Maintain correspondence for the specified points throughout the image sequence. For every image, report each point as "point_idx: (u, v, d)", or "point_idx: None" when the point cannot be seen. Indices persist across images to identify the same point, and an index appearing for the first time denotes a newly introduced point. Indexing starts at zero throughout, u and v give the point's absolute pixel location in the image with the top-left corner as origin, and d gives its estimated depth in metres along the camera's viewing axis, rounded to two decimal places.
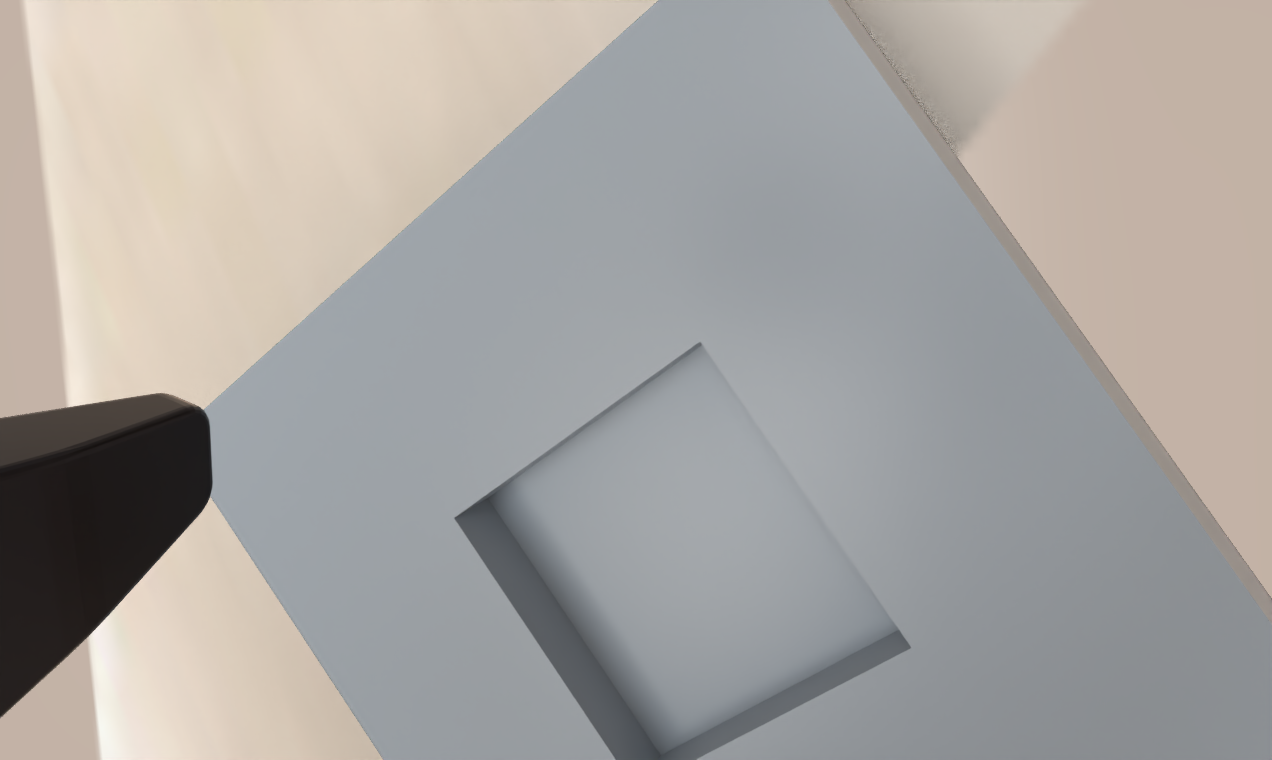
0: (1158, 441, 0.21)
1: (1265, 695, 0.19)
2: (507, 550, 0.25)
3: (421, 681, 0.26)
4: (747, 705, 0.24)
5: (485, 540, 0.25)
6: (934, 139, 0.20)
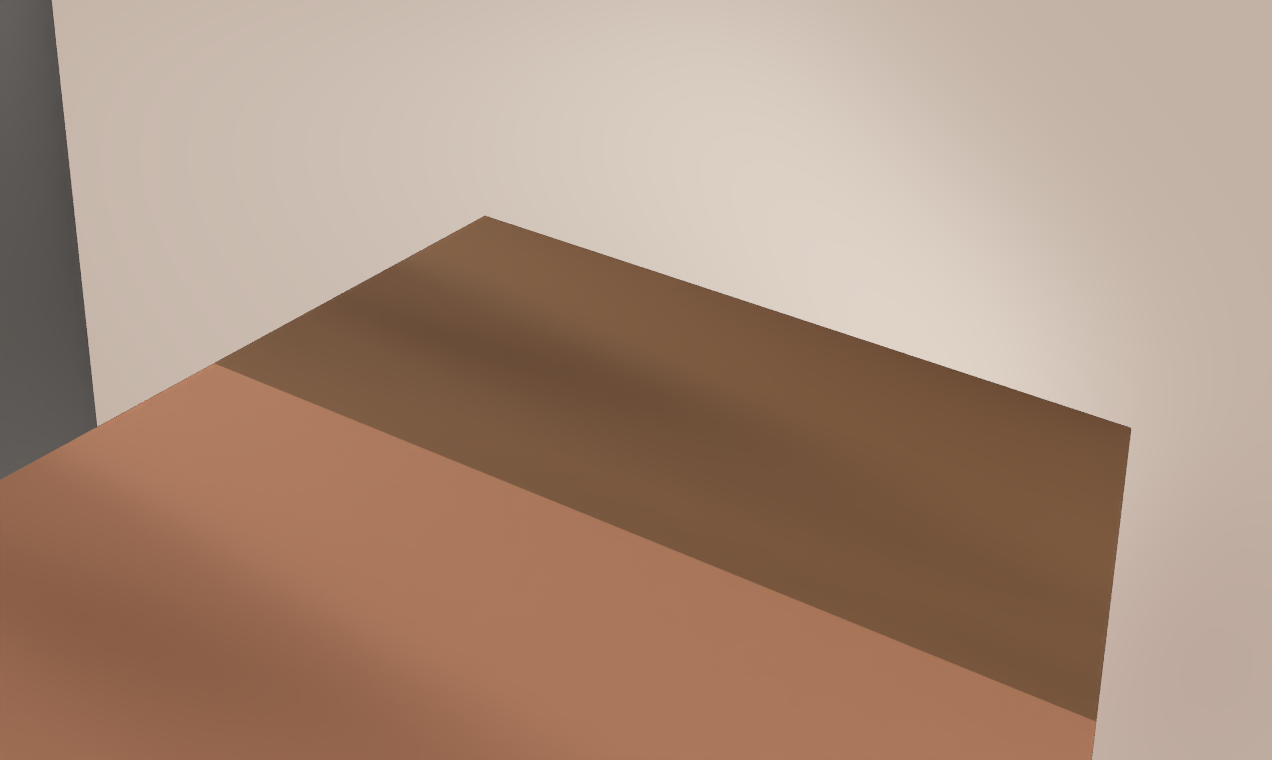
0: None
1: None
2: None
3: None
4: None
5: None
6: None
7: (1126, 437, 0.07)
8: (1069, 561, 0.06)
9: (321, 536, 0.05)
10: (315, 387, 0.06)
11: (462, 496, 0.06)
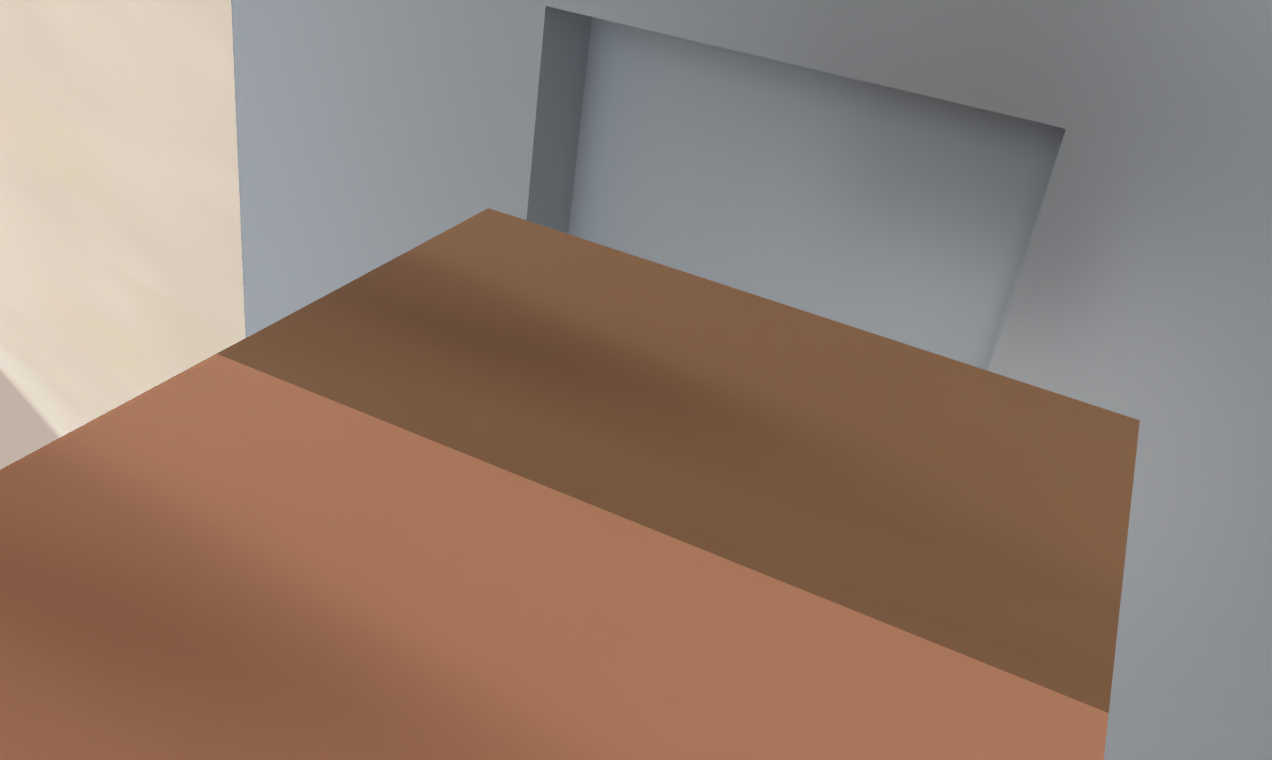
0: None
1: None
2: None
3: None
4: None
5: None
6: None
7: (1134, 429, 0.07)
8: (1081, 553, 0.06)
9: (325, 526, 0.05)
10: (319, 377, 0.06)
11: (467, 486, 0.06)
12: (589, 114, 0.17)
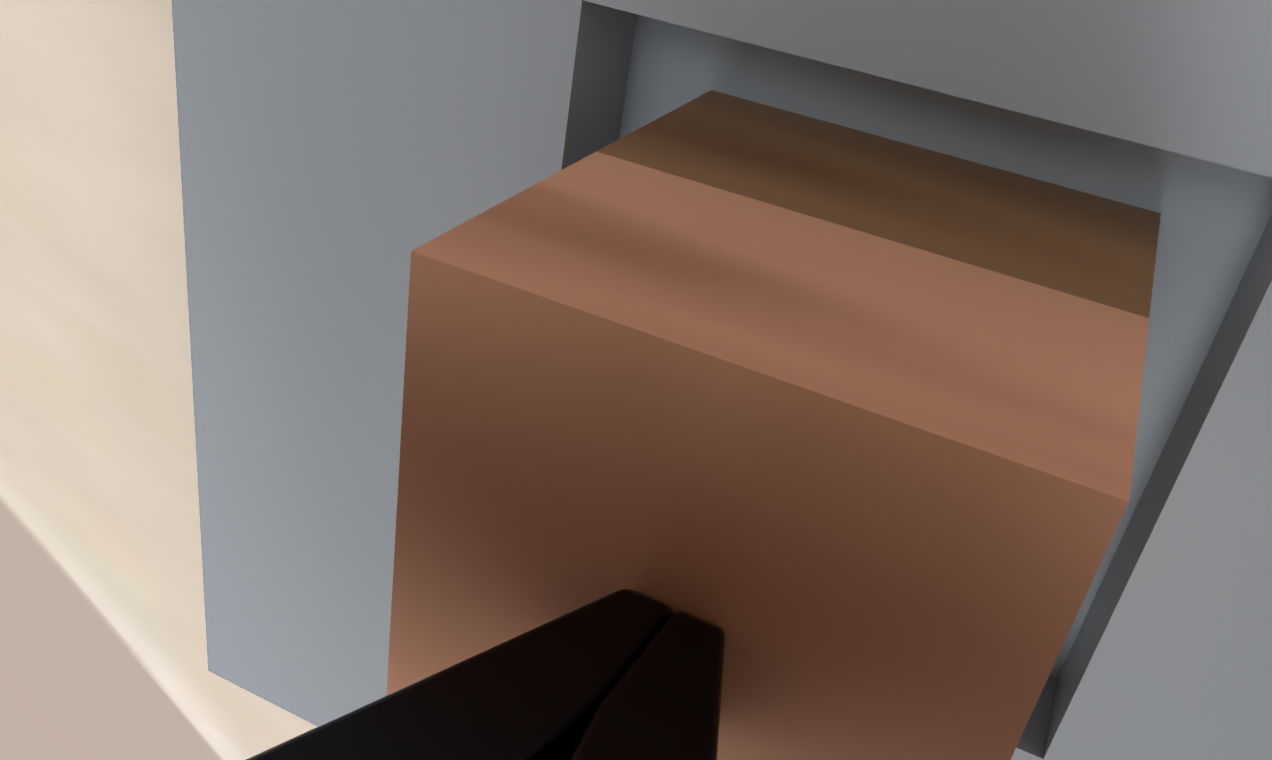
0: None
1: None
2: None
3: None
4: (1125, 514, 0.13)
5: None
6: None
7: (1158, 217, 0.11)
8: (1127, 263, 0.10)
9: (704, 224, 0.09)
10: (660, 165, 0.10)
11: (771, 214, 0.10)
12: None
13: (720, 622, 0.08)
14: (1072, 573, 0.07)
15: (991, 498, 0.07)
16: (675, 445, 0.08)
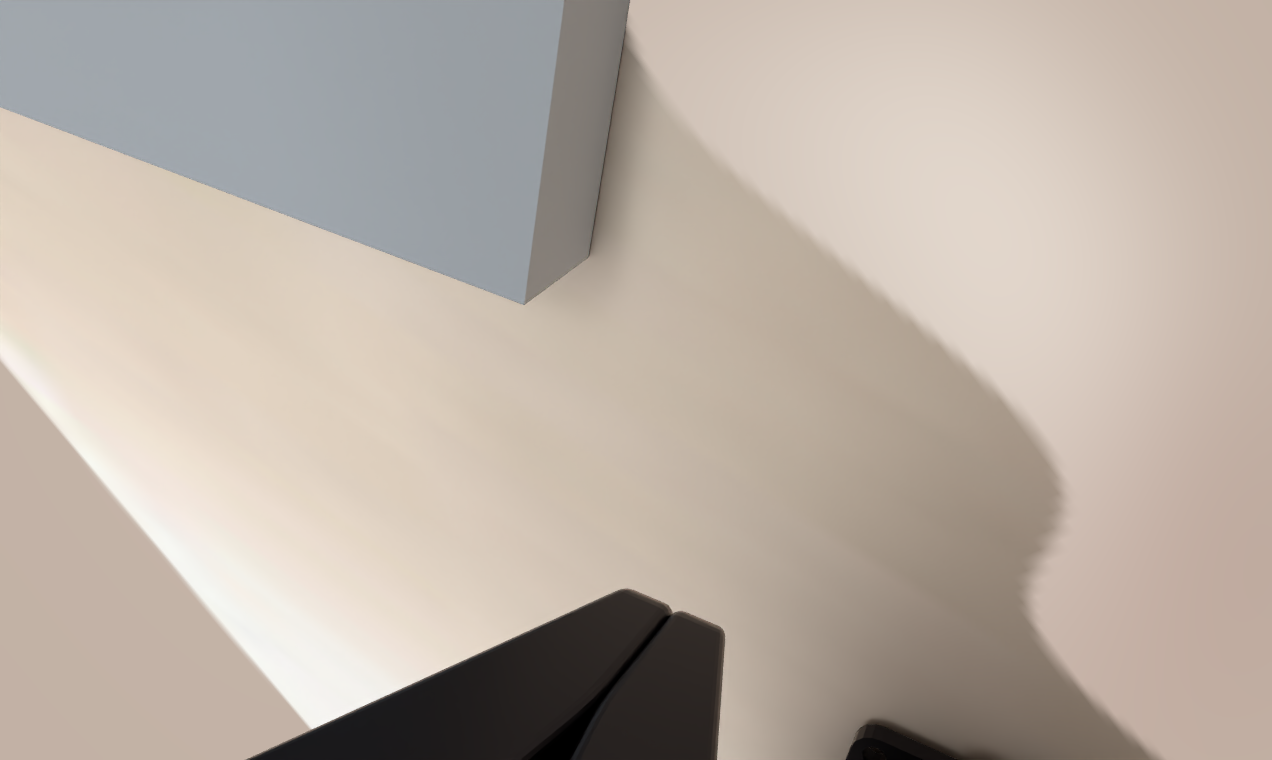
0: None
1: None
2: None
3: (76, 25, 0.21)
4: None
5: None
6: None
7: None
8: None
9: None
10: None
11: None
12: None
13: None
14: None
15: None
16: None
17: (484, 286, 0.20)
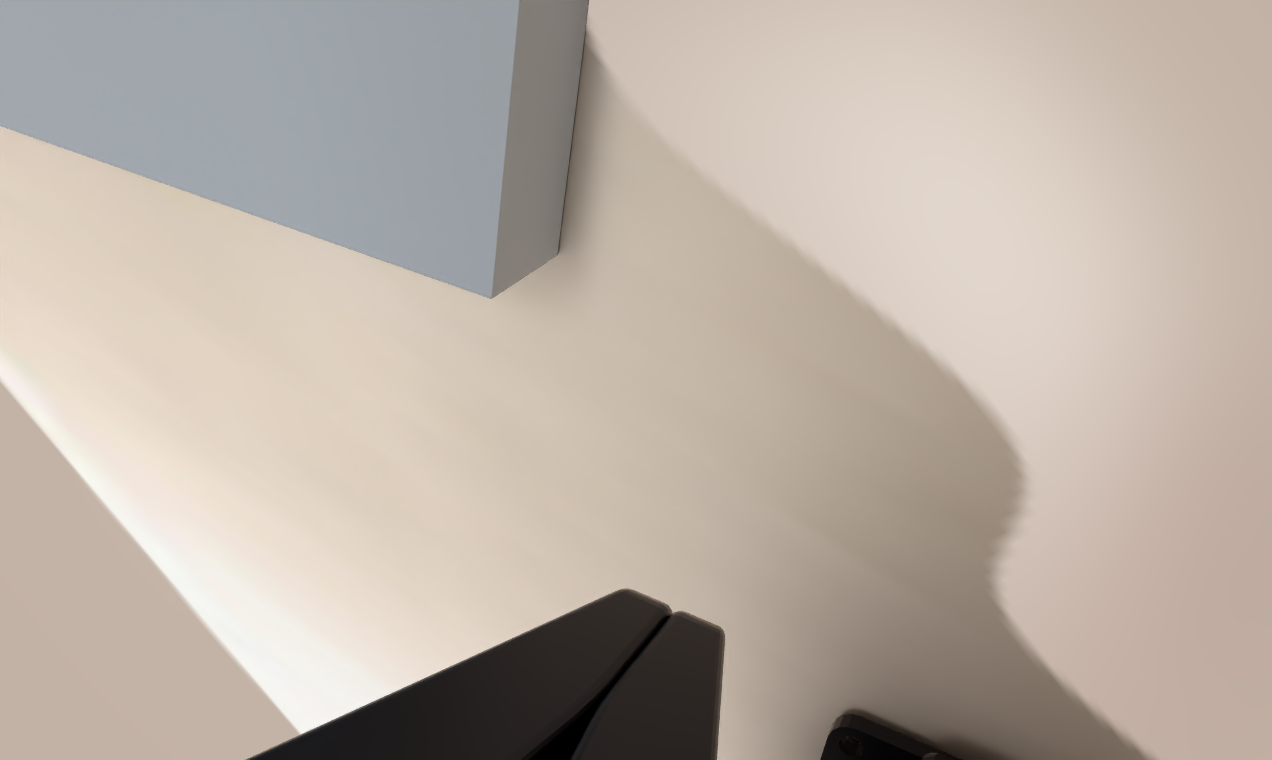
0: None
1: None
2: None
3: (58, 38, 0.22)
4: None
5: None
6: None
7: None
8: None
9: None
10: None
11: None
12: None
13: None
14: None
15: None
16: None
17: (452, 281, 0.20)
